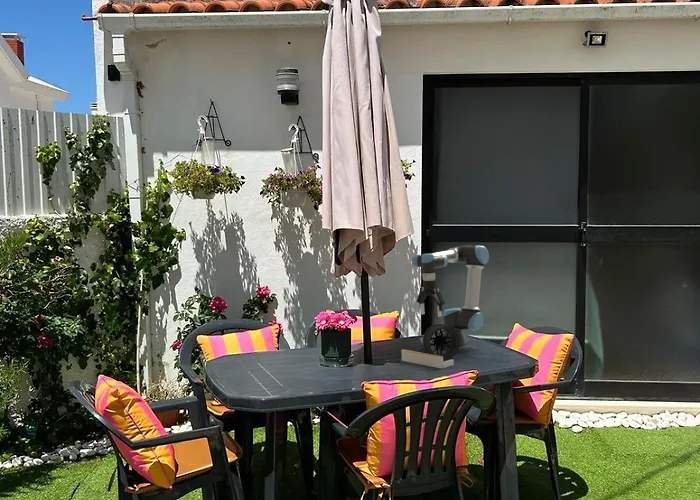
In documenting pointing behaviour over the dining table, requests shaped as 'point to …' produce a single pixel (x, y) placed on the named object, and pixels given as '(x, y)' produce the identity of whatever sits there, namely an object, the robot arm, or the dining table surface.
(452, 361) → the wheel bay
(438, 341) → the wheel rim
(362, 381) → the dining table surface
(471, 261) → the robot arm
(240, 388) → the dining table surface
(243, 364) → the dining table surface
